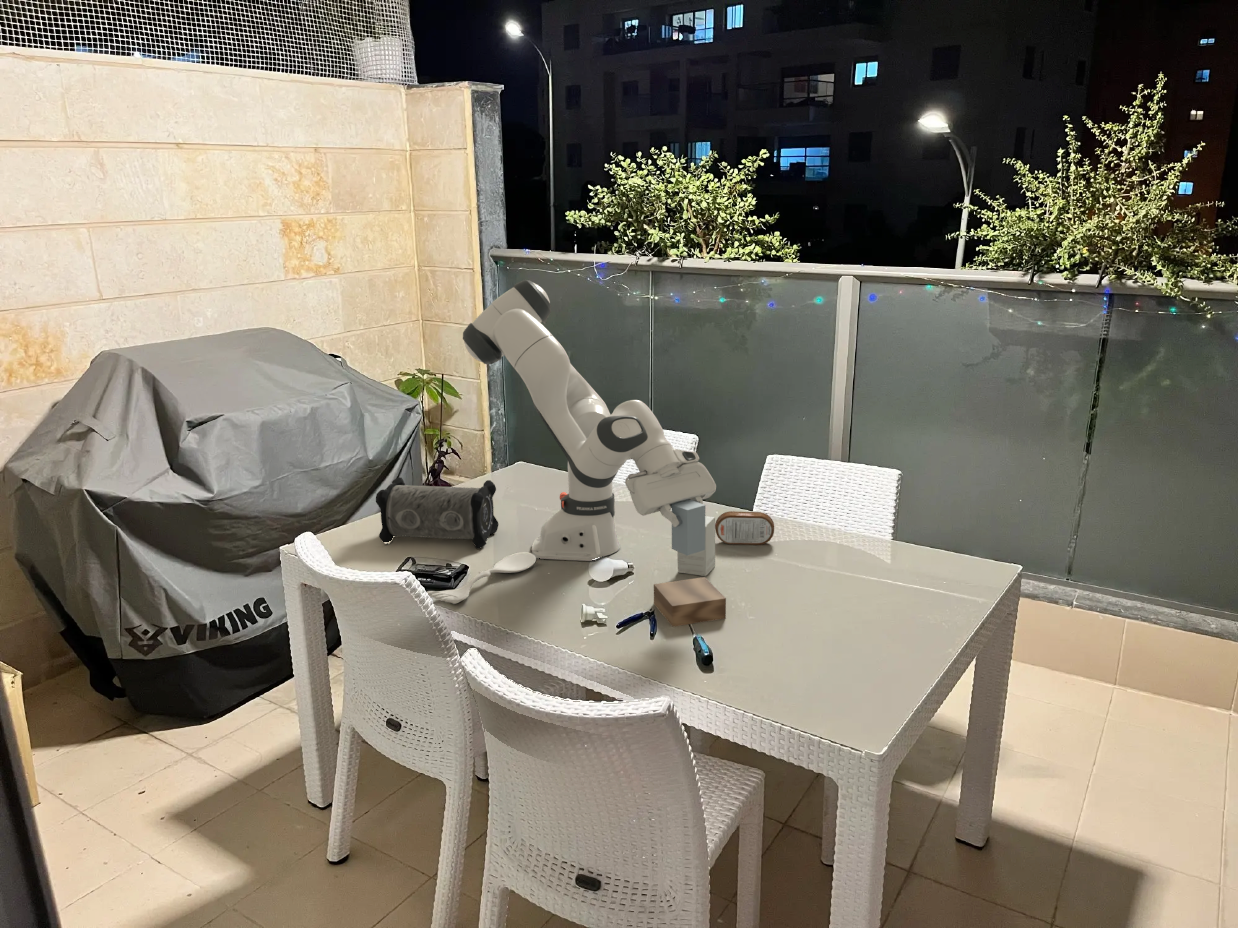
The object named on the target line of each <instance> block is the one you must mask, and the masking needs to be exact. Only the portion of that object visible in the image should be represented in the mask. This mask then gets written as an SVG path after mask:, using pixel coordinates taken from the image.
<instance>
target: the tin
mask: <svg viewBox="0 0 1238 928" xmlns="http://www.w3.org/2000/svg"><path fill="white" fill-rule="evenodd" d="M774 534H775V522H774V519H772V517H771V516H770V515H768V514H767V513H765V512H760V511H736V510H735V511H734V510H733V511H726V512H724V513H722V514H720V515H719V516H718V517H717V518H716V519H715V535H716V537H717V538H718V539H719V540H720V541H721V542H722V543H725V544H727V545H739V546H740V545H743V546H745V545H746V546H752V545H753V546H761V545H762V546H763V545H765V544H767V543H768V542H770V541H771V540H772V538H773V537H774Z"/></svg>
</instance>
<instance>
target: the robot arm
mask: <svg viewBox="0 0 1238 928" xmlns="http://www.w3.org/2000/svg"><path fill="white" fill-rule="evenodd" d="M551 313H552V304H551V301H550V298H549V296H548V293H547V292H546V291H545V290H544V288H543V287H541V286H540V284H537V283H535V282H533V281H532V280H529V279H522V280H521V281H519V282H517V283H515V284H513V287H511V288H510V289H509V290H507V291H506V292H504V293H502V294H501V295H500V296H498V297H497V298H495V299H494V300H493V301H492V302H491V304H490V305H488V307H486V308H484V310H483V311H482V312H481V313H480V314H479V315H478V316H477V317H476V318H475V320H473V322H470V323H469V324H468V325H467V326H466V327H465V329H464V330H463V332H462V340H463V341H464V345H465V348H466V350H467V352H468V353H469V355H470V356H471V357H472V358H474V359H475V360H476V361H479V362H480V363H483V364H484V365H493V364H495V363H497V362H498V361H501V360H502V357H504V356H505V358H506V360H507V361H508V363H510V365H511V367H512V368H513V369H514V370H515V371H516V372H517V374H518V375H519V377H520V378H521V379H522V381H523V382H524V384H525V386H526V388H527V389H528V392H529V395H530V396H531V399H532V400H531V401H532V403H533V407H534V409H535V411H536V413H537V414H538V416H539V418H540V419H541V421H542V422H543V424H544V425H545V427H546V428H547V429H548V432H549V433H550V435H551V436H552V437H553V439H554V440H555V442H556V443H557V444H558V447H559V449H561V451H562V453H563V454H564V456H565V458H566V460H567V479H568V480H567V481H568V482H567V484H568V487H567V488H568V493H567V492H566V491H562V492H560V494H559V500H560V507H561V508H560V509H559V510H558V511H557V512H555V513H554V514H553V515H551V516H550V517H548V518H547V519H546V520H545V521H544V522H543V525H542V526H541V530H540V534H539V537H537V538H535V539H534V540H533V542H532V545H531V554H533V555H534V556H535V557H536V559H539V558H540V560H541V559H542V560H544V559H545V560H561V561H564V560H566V561H581V562H583V561H584V562H585V561H587V562H593V561H592V559H595V558H598V557H601V558H603V557H606V556H609V555H612V554H614V553H616V552H618V551H619V550H620V548H621V544H620V541H619V537H618V534H617V530H616V529H617V528H616V523H615V513H616V499H615V494H614V492H613V481H614V480H615V477H616V476H617V474H618V472H619V470H621V468H622V467H623V466H624V464H625V463H626V462H627V461H629V460H632V461H633V462H634V464H635V465H636V468H637V469H638V472H636V473H629V474H628V475H627V477H626V478H625V482H624V484H625V486H626V488H627V490H628V491H629V496H630V498H631V500H632V503H633V506H634V508H635V510H636V512H637V513H638V514H639V515H641V516H647V515H651V514H654V513H658V512H660V514H661V516H663V517H664V518H665V519H666V520H668V521H669V522H670V523H671V526H672V525H673V527H677V526H680V525H681V524H682V523H683V521H682V520H681V517H680V516H679V515H678V516H676V515H675V514H674V513H673V512H672V504H674V503H678V502H682V501H685V500H689V499H690V500H693V501H695V502H698V503H701V504H704V501H703V500H705V499H708V498H711V497H712V496H713V494H715V492H716V489H717V484H716V482H715V480H714V478H713V477H712V474H710V472H709V470H708V469H707V467H706V466H705V465H704V464H703V463H702V462H699V460H700V457H699V455H698V453H697V452H696V451H690V450H683V449H678V448H674V447H673V445H672V444H671V442H669V440H668V439H667V438H666V436H665V434H664V433H665V432H664V429H663V428H662V425H661V424H660V421H659V420H658V418H657V416H656V415H655V414H654V413H653V410H651V409H650V407H649V406H648V405H647V404H646V403H644V401H642V400H638V399H630V400H626V401H623V402H621V403H620V404H618V405H617V406H616V407H615V408H614V409H613V412H612V413H610V410H609V408H608V406H607V404H606V402H605V401H604V400H603V399H602V397H601V396H600V395H599V394H598V393H597V392H596V391H595V389H594V388H593V387H592V386H591V384H590V383H588V381H587V380H586V379H585V377H583V376H582V375H581V373H579V371H578V370H577V369H576V368H575V367H574V366H573V364H572V363H571V360H570V357H569V356H568V354H567V351H566V350H565V348H564V347H563V345H561V343H560V341H558V340H557V338H556V337H555V336H554V335H553V334H552V333H551V332H550V330H548V329H547V328H546V327H545V325H546V324H547V319H548V318H549V316H550V315H551ZM543 324H544V325H543ZM705 516H707V514H705ZM602 556H603V557H602Z"/></svg>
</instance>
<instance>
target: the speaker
mask: <svg viewBox="0 0 1238 928" xmlns="http://www.w3.org/2000/svg"><path fill="white" fill-rule="evenodd" d="M496 492H497V486H496V485H495V483H494V482H493V481H492V480H489V479H488V480H485V482H483V486H481V487H465V486H464V487H459V486H458V487H457V486H432V485H431V486H430V485H406V483H405V481H404V479H403V478H402V477H396V478H394V479H393V480H392V481H391V483H390V484H389V485H388V486H387V487H386V488H385V489H380V490H379V491H378V492H377V493H376V496H375V503H376V505H377V506H378V507H379V509H380V522H381V529H380V532H379V534H378V538H379V539H380V541H381V540H382V541H383V542H389V541H391V540H392V538H393V536H396V537H408V538H410V537H411V538H431V539H432V538H434V539H435V538H437V539H451V540H452V539H454V540H455V539H456V540H457V539H458V540H472V543H473V545H474V546H475V548H476V549H477V548H480V547H482V548H484V547H485V546H486V545H487V540H488V539H487V538H489V537H490V536H491V535H493V534H492V533H494V534H495V533H496V532H497V531H498V529H499V521H498V519H497V518H496V517H495V515H494V499H493V497H494V496H495V493H496ZM490 534H491V535H490ZM409 536H410V537H409ZM393 539H394V538H393ZM486 539H487V540H486ZM485 540H486V541H485ZM382 541H381V542H382ZM383 542H382V543H383ZM480 549H481V548H480Z"/></svg>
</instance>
